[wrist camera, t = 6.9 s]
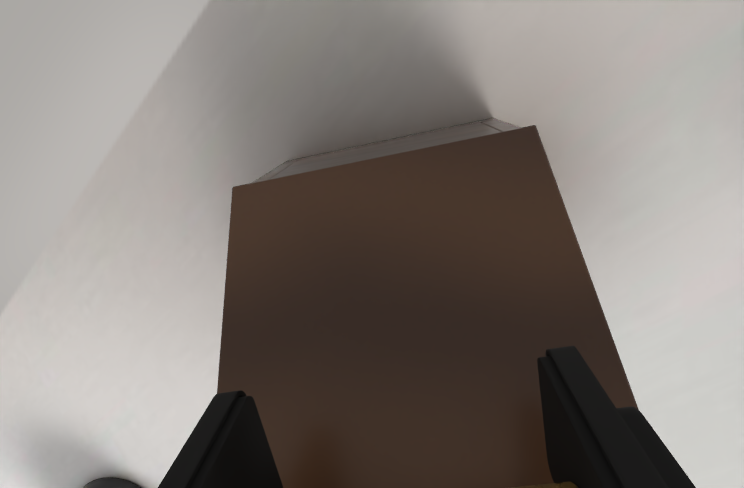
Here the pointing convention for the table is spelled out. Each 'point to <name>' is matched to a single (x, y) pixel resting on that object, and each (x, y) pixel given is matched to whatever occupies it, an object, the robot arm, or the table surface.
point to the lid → (410, 316)
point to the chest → (389, 147)
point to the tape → (111, 483)
